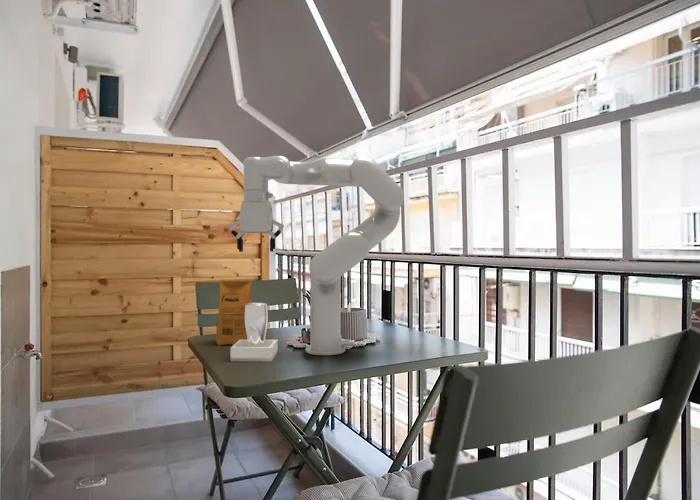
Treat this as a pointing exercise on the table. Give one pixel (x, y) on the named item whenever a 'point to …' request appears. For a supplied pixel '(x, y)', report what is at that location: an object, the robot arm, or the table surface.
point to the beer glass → (256, 324)
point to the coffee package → (232, 311)
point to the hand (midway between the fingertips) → (256, 251)
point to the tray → (254, 351)
